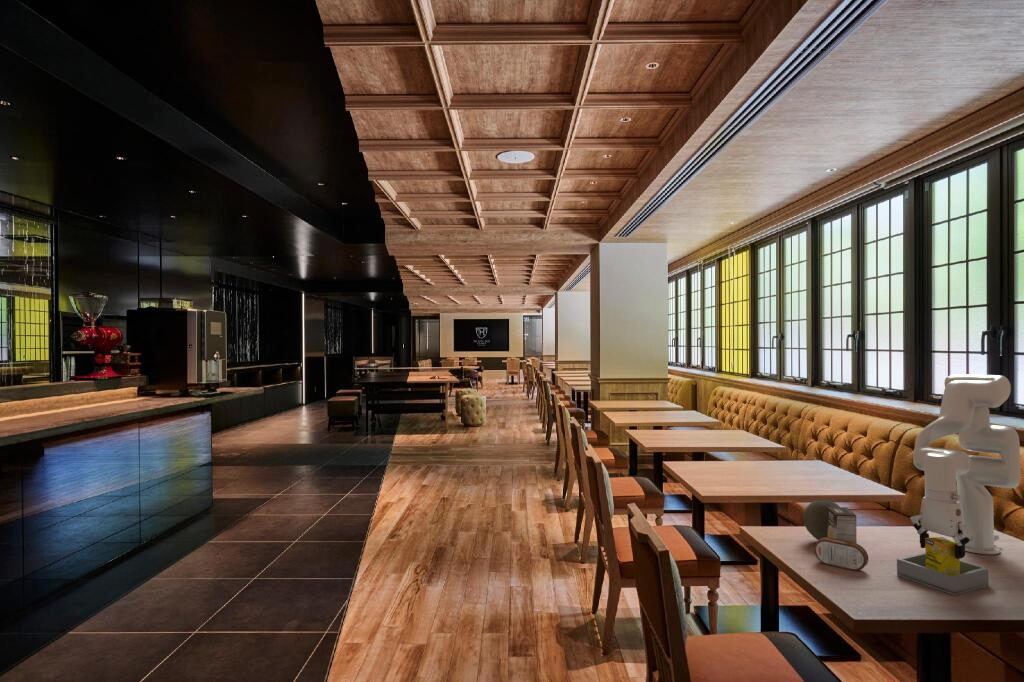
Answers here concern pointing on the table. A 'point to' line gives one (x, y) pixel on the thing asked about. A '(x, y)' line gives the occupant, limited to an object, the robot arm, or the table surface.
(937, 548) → the supplement box
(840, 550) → the tin
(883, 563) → the table surface
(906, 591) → the table surface
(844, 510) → the coffee box
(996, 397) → the robot arm
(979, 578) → the tote
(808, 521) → the smooth river stone
